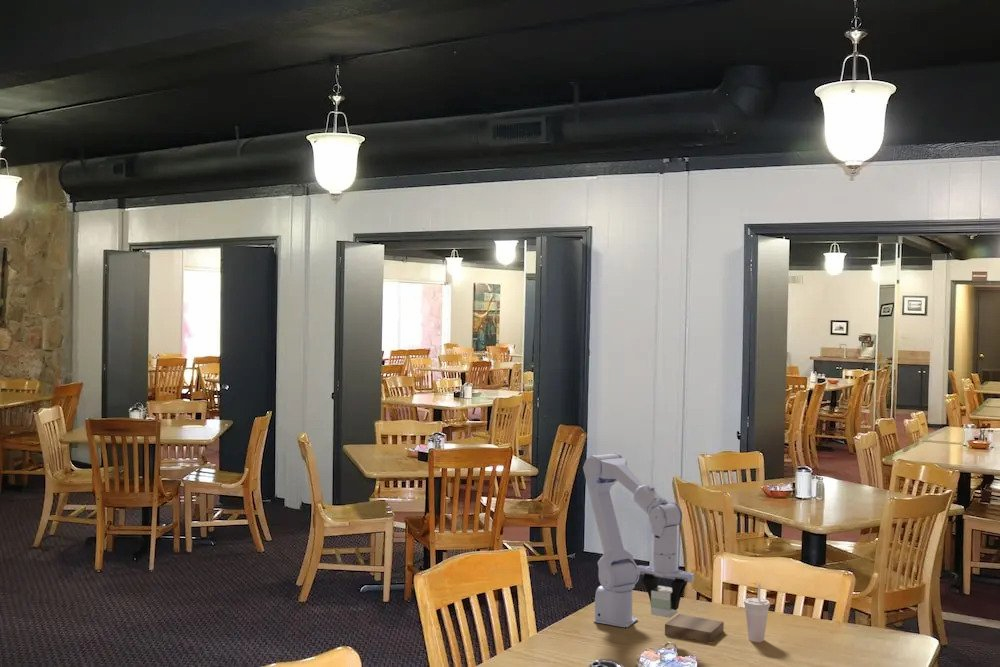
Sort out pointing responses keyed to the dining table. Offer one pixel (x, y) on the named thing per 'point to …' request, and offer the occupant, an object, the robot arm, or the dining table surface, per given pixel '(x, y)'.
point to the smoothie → (756, 617)
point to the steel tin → (662, 602)
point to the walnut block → (694, 628)
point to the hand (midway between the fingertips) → (664, 606)
